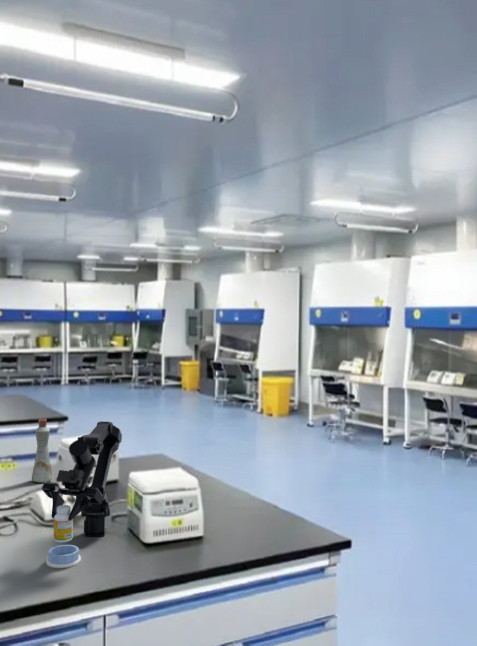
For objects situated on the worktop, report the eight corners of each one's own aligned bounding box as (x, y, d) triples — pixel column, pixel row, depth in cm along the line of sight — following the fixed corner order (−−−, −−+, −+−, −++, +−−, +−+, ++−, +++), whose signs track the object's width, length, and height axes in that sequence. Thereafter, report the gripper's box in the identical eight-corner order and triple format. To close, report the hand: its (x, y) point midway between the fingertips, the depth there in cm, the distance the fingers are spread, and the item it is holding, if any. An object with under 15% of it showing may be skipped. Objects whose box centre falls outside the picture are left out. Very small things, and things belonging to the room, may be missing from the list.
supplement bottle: (56, 535, 185) (56, 504, 185) (74, 535, 186) (74, 504, 185) (52, 542, 180) (52, 510, 179) (70, 542, 180) (71, 510, 180)
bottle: (27, 483, 266) (28, 418, 266) (37, 477, 275) (38, 415, 275) (46, 484, 265) (46, 419, 264) (55, 478, 273) (56, 416, 273)
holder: (82, 554, 188) (83, 543, 188) (78, 567, 178) (78, 556, 178) (49, 555, 187) (49, 544, 187) (43, 568, 177) (43, 557, 177)
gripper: (45, 455, 189) (21, 502, 178) (98, 461, 183) (77, 509, 173) (60, 474, 196) (38, 520, 186) (111, 480, 191) (92, 527, 180)
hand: (60, 518), depth 181 cm, fingers closed on supplement bottle, 5 cm apart
